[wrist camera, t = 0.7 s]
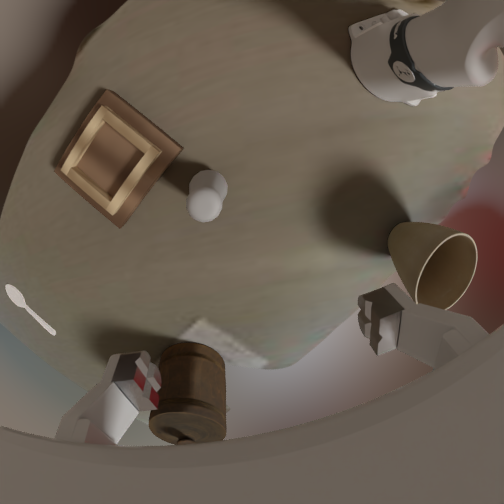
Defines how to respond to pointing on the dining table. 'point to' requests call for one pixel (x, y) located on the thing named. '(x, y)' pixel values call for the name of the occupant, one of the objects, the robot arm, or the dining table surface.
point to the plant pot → (433, 262)
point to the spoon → (20, 302)
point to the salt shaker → (206, 195)
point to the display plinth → (116, 157)
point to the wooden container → (190, 396)
